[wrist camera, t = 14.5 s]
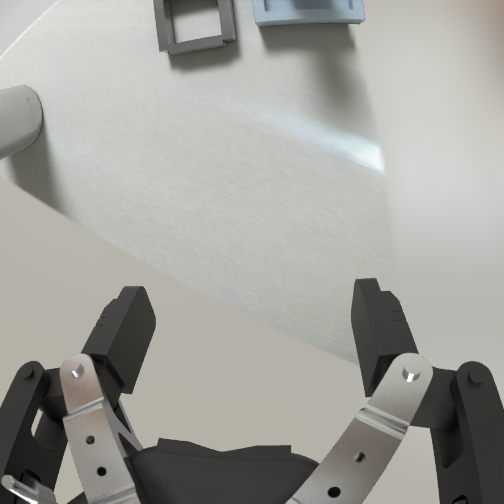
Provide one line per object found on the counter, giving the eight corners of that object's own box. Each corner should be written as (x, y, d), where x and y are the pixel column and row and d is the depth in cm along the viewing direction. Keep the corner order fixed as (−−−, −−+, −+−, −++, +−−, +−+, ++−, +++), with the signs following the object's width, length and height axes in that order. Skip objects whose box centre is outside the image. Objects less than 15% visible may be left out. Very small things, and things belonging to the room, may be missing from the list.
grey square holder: (167, 56, 28) (160, 56, 27) (160, -4, 25) (152, -7, 23) (236, 44, 27) (233, 42, 26) (229, -19, 23) (225, -24, 22)
